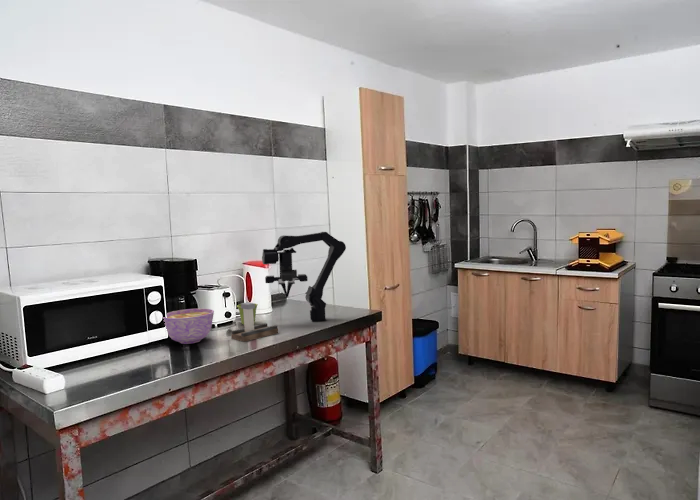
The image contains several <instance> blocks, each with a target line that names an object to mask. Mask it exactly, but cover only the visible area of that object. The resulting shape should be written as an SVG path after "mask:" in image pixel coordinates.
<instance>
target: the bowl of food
mask: <svg viewBox="0 0 700 500" xmlns="http://www.w3.org/2000/svg"><path fill="white" fill-rule="evenodd" d="M214 312H215V311H214V310H213V309H211V308H187V309H179V310H173V311H169V312H167V318H166V317H162V320H163V319H164V320H163V323H164V322H165V323H164V326H166V327H165V330H166V329H167V330H166V331H167V335H168V336H169V338H171V340H173V341H174V342H178V343H179V344H182V345H189V344H195V343H199V342H201V341H202V340H203V339H205V338H206V337H208V335H209V334H210V332H211V330H212V326H213V325H212V324H213V320H214V314H215V313H214Z"/></svg>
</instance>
